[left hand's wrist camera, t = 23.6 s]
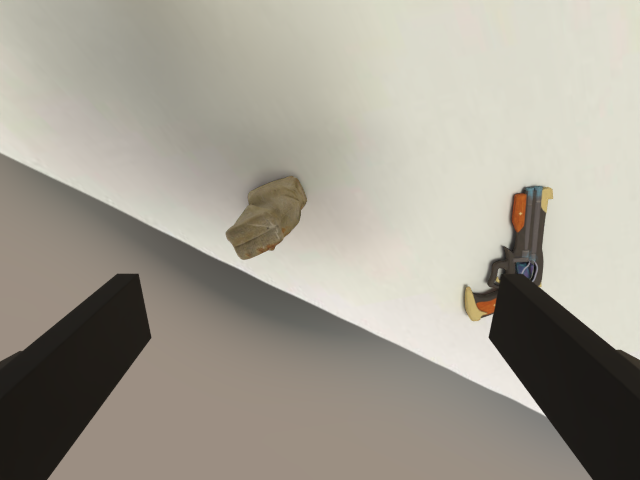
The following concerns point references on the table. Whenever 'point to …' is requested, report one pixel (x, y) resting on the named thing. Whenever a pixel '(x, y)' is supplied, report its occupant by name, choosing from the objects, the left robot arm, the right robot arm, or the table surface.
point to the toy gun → (517, 249)
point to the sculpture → (267, 217)
